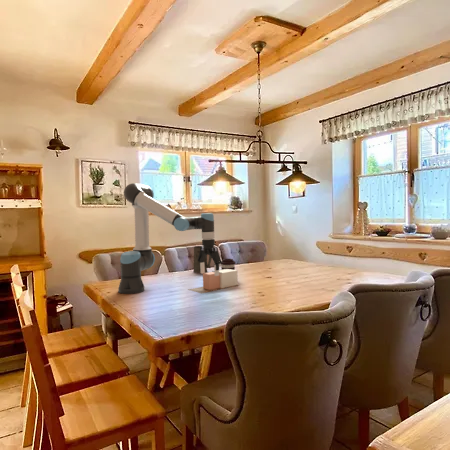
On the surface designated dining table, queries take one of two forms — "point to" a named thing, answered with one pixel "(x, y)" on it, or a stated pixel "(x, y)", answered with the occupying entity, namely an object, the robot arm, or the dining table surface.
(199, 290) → the board
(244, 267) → the dining table surface
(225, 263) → the coffee cup
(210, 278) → the stub
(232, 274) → the cream white block
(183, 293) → the dining table surface
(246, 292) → the dining table surface
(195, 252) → the beer stein
